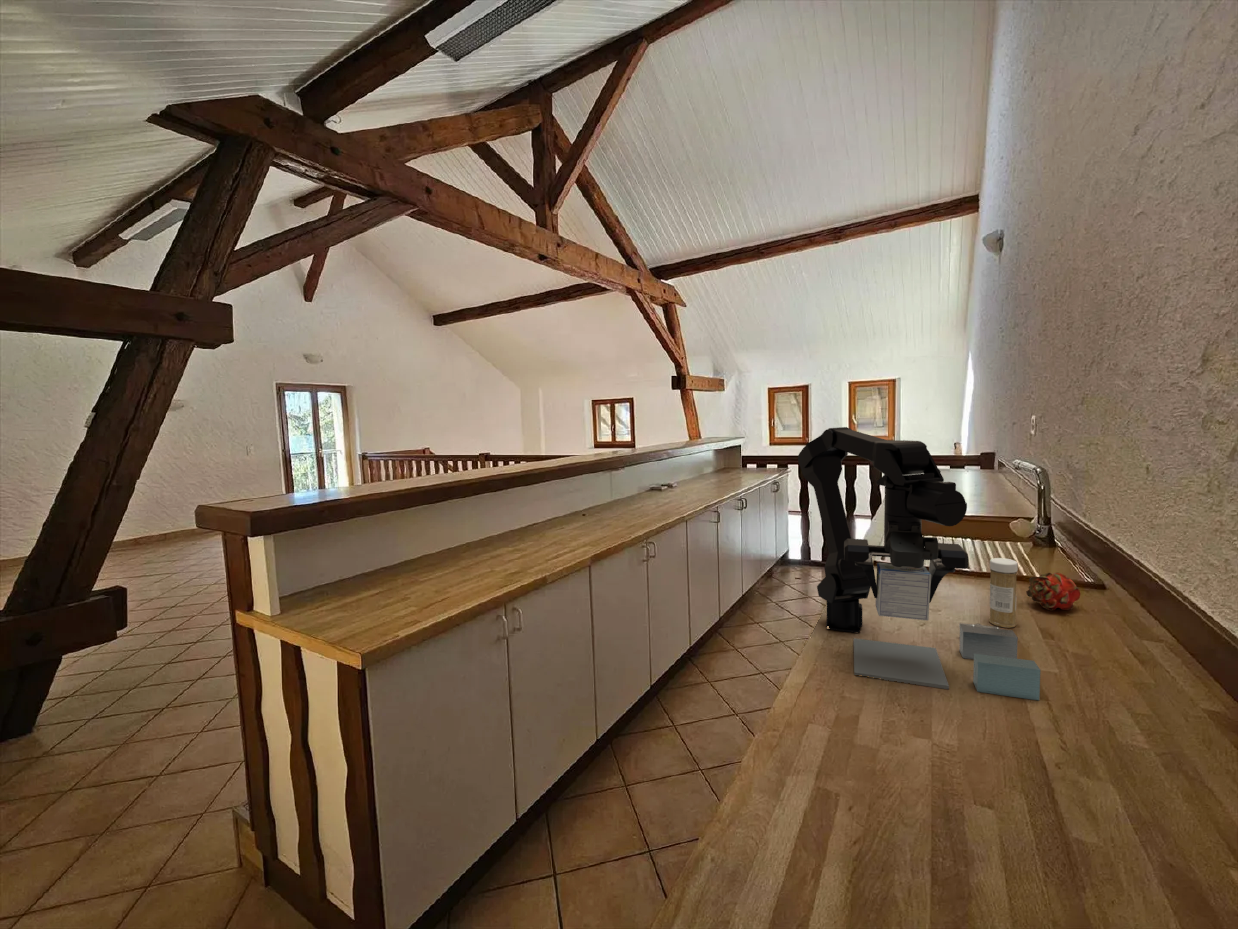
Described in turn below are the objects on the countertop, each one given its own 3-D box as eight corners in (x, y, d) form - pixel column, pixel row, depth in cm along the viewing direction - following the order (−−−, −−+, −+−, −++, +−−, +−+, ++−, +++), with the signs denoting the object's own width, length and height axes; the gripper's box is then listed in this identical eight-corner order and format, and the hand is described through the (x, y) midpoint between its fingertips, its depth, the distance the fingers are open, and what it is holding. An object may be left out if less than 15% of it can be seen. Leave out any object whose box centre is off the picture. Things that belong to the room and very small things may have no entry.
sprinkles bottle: (1019, 624, 106) (1021, 560, 105) (1010, 630, 103) (1012, 565, 102) (994, 617, 110) (995, 555, 108) (984, 623, 107) (985, 560, 106)
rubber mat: (854, 675, 90) (854, 672, 90) (853, 641, 103) (853, 638, 102) (948, 689, 84) (948, 686, 84) (935, 651, 97) (935, 648, 97)
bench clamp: (977, 691, 83) (978, 662, 83) (953, 636, 102) (953, 611, 102) (1039, 700, 80) (1040, 669, 79) (1002, 641, 99) (1002, 616, 99)
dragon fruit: (1038, 621, 110) (1055, 614, 117) (1082, 607, 105) (1097, 600, 112) (1012, 584, 114) (1030, 579, 121) (1053, 568, 109) (1070, 564, 116)
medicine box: (923, 611, 93) (925, 565, 92) (929, 622, 89) (931, 573, 88) (874, 607, 96) (876, 561, 95) (878, 616, 91) (880, 569, 90)
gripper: (845, 522, 86) (845, 611, 88) (978, 527, 79) (975, 624, 81) (844, 508, 97) (844, 588, 98) (961, 511, 89) (959, 598, 91)
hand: (901, 599), depth 92 cm, fingers closed on medicine box, 8 cm apart
